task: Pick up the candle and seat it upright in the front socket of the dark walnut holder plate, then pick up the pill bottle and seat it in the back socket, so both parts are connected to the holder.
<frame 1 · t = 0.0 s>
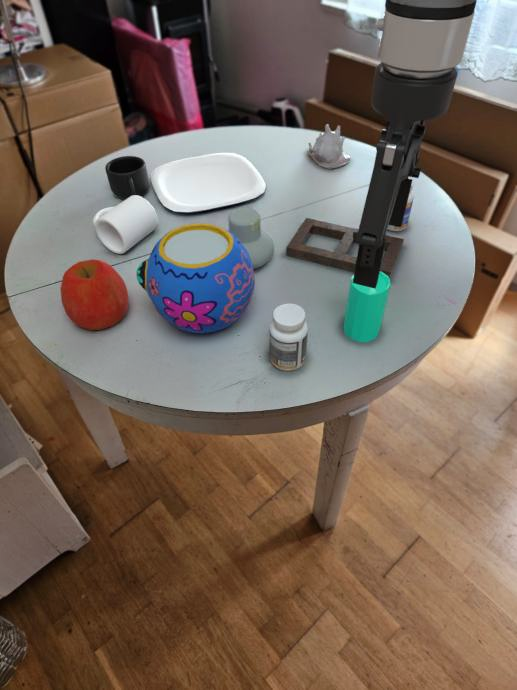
hand: (379, 252, 59), 21 cm above the table, tool pointing down, fingers open, 13 cm apart
pill bottle 2: (393, 225, 100), on the table
mug: (124, 239, 99), on the table
air freshener: (246, 260, 93), on the table
seashell: (325, 160, 121), on the table
pill bottle: (287, 359, 75), on the table
mug 2: (133, 197, 110), on the table
candle: (361, 330, 79), on the table
holder: (344, 251, 94), on the table
apple: (102, 315, 83), on the table
ceramic pot: (205, 315, 83), on the table
plate: (207, 186, 113), on the table
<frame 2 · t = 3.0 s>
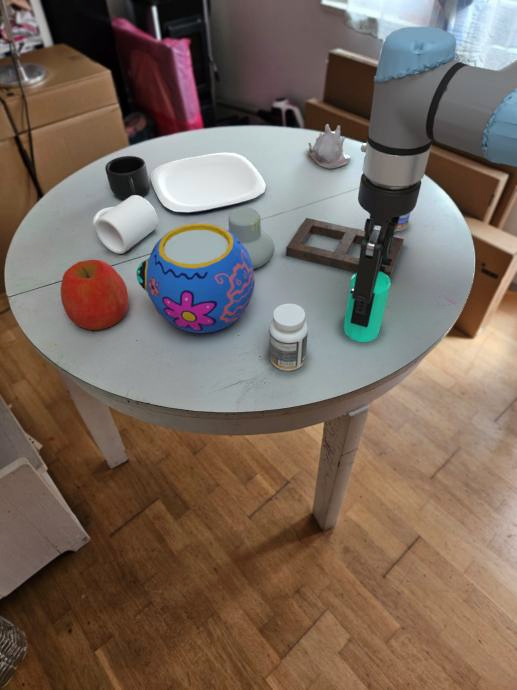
hand: (365, 310, 76), 4 cm above the table, tool pointing down, fingers closed on candle, 6 cm apart
candle: (361, 330, 79), on the table, touching gripper
everything else where it was.
when the fingers open (4 cm above the table, at t = 10.6 s): candle stays where it is, resting in holder.
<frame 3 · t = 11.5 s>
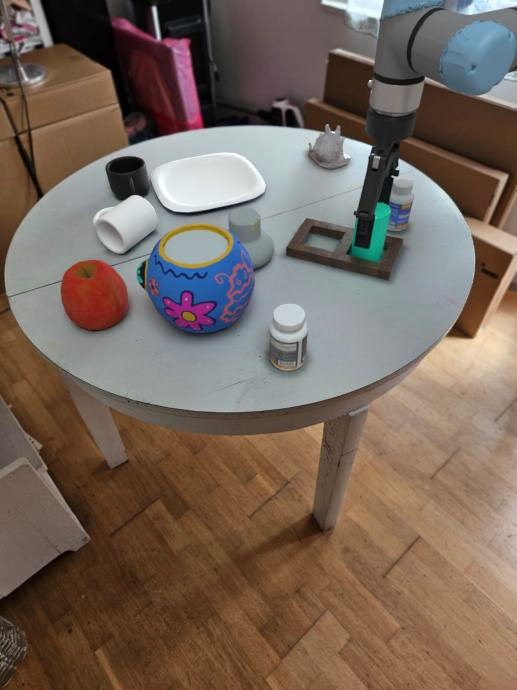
hand: (371, 226, 88), 7 cm above the table, tool pointing down, fingers open, 13 cm apart
candle: (365, 257, 93), resting in holder
everything else where it was.
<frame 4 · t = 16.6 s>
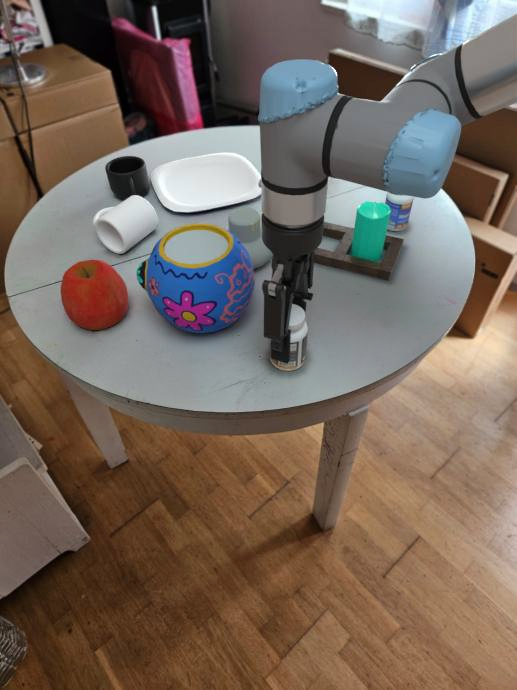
hand: (288, 344, 73), 3 cm above the table, tool pointing down, fingers closed on pill bottle, 6 cm apart
pill bottle: (287, 359, 75), on the table, touching gripper
everything else where it was.
when the fingers open (3 cm above the table, at t = 25.8 s): pill bottle stays where it is, resting in holder.
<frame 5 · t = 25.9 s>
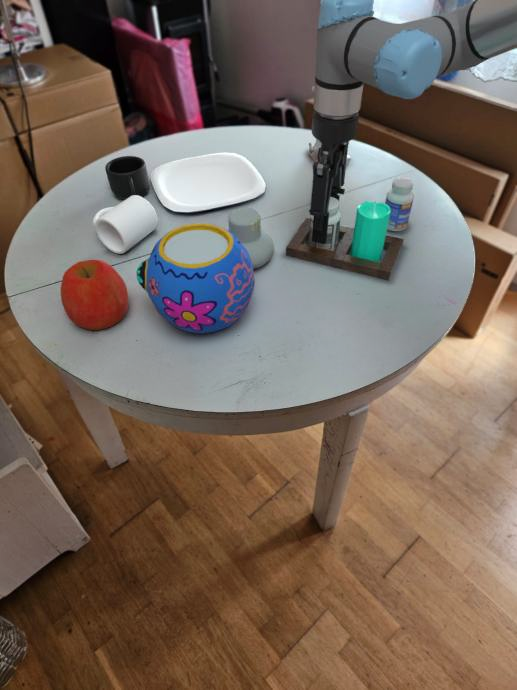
hand: (324, 232, 93), 3 cm above the table, tool pointing down, fingers open, 6 cm apart
pill bottle: (322, 247, 95), resting in holder
everything else where it was.
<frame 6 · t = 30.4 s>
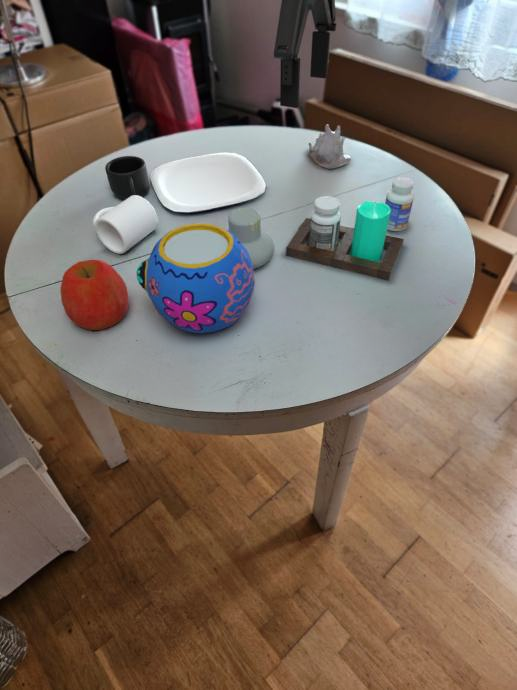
hand: (304, 91, 76), 29 cm above the table, tool pointing down, fingers open, 13 cm apart
nothing on the table moved.
at the end: candle 0.2 cm from the target spot in the holder, point 0.0 cm above the holder's base; pill bottle 0.0 cm from the target spot in the holder, point 0.0 cm above the holder's base; candle tilted 0° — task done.
